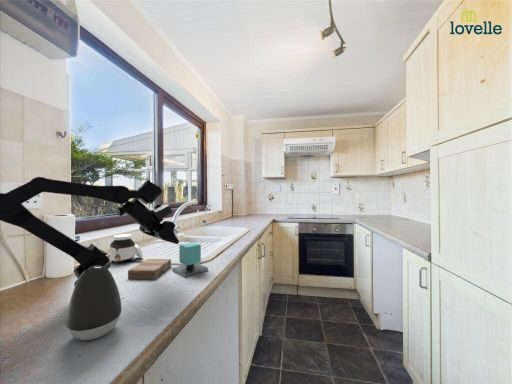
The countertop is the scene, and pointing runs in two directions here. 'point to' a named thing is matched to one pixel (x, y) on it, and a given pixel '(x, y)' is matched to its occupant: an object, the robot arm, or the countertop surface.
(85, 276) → the dark grey egg shape
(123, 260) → the spread jar
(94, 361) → the countertop surface
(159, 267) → the board
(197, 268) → the post stand
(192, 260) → the turquoise square block
